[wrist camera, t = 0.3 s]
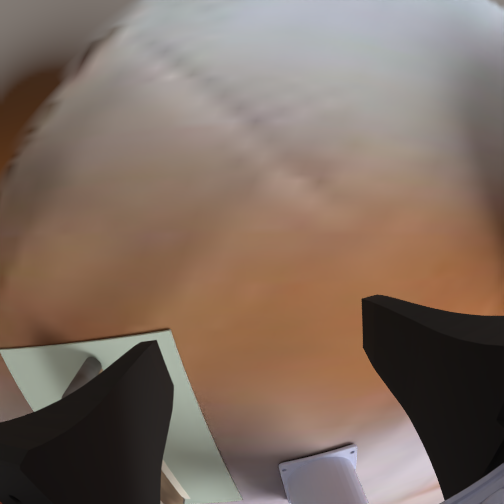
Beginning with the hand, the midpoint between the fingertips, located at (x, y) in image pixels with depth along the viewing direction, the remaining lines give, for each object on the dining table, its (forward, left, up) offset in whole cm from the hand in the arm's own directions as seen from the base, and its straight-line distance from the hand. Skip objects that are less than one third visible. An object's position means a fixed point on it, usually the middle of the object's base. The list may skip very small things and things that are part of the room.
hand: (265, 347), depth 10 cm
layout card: (-15, +15, -10) cm, 24 cm away
